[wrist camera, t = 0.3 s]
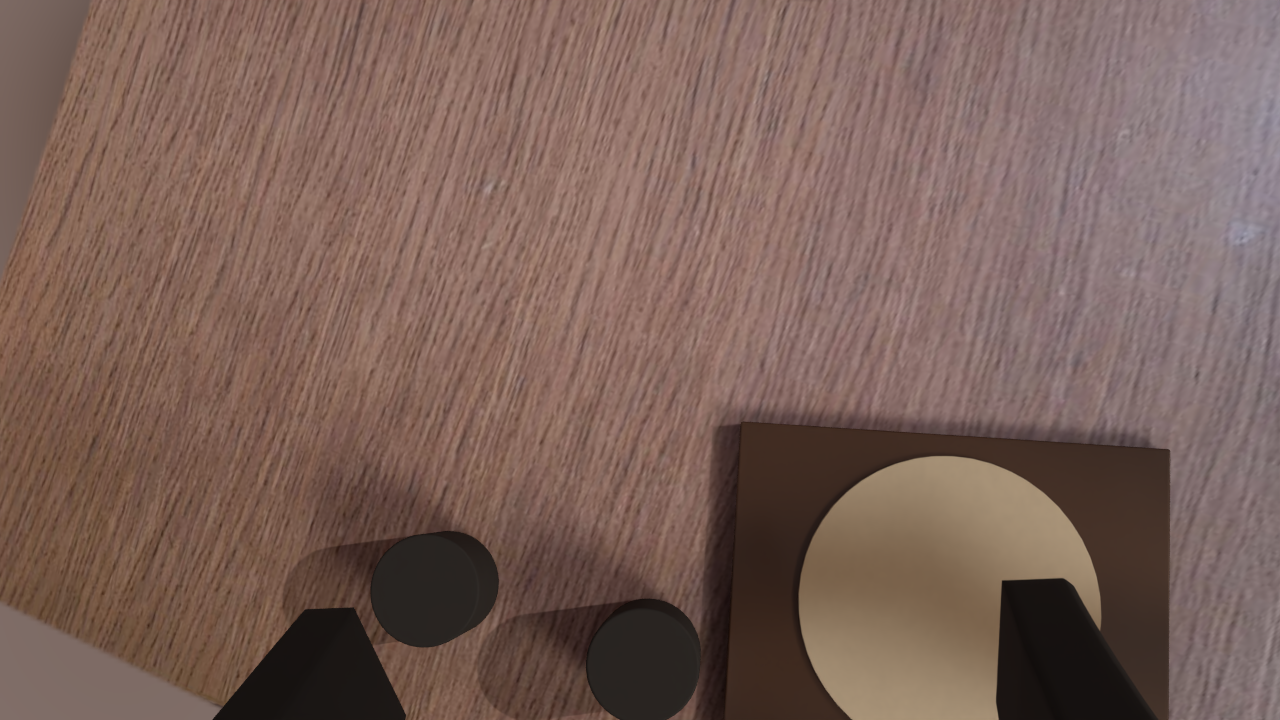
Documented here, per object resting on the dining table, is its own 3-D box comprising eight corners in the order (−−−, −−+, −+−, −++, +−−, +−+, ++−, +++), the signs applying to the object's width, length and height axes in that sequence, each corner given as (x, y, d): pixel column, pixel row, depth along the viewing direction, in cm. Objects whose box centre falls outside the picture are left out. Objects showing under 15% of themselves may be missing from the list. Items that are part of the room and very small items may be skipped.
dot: (697, 710, 40) (695, 730, 36) (592, 701, 40) (581, 720, 37) (703, 602, 40) (703, 612, 37) (600, 594, 41) (590, 603, 37)
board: (1159, 778, 38) (1171, 785, 38) (722, 739, 40) (722, 745, 39) (1161, 450, 40) (1173, 449, 39) (740, 422, 41) (741, 421, 40)
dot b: (494, 639, 41) (474, 652, 37) (393, 630, 41) (364, 643, 38) (503, 534, 41) (484, 538, 38) (403, 527, 42) (375, 530, 38)
